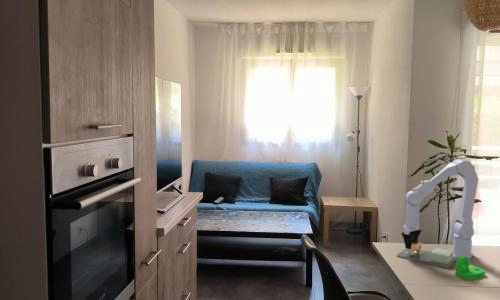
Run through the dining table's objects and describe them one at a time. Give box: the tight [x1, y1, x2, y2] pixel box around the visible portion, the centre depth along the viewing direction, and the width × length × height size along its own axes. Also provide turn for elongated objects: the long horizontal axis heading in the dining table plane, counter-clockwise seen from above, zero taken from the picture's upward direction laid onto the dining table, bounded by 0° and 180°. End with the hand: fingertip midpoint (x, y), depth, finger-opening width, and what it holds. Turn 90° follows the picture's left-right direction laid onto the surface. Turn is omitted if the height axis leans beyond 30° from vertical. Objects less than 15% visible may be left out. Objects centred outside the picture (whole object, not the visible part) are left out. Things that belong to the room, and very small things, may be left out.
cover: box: [430, 247, 453, 264], centre depth 190 cm, size 9×7×4 cm
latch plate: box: [396, 247, 457, 269], centre depth 195 cm, size 15×22×1 cm
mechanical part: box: [455, 255, 486, 281], centre depth 175 cm, size 12×6×8 cm, turn 120°
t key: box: [411, 240, 422, 252], centre depth 198 cm, size 2×7×5 cm, turn 138°
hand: (410, 246), depth 201 cm, fingers open, 7 cm apart
